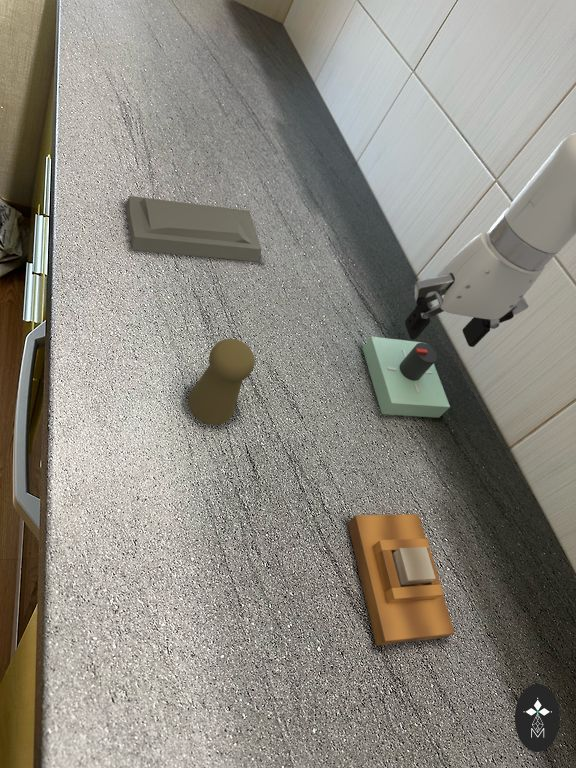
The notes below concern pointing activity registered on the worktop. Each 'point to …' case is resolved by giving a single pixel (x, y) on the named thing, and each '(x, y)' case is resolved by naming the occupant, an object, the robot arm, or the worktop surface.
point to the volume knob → (418, 361)
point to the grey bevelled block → (191, 229)
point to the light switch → (397, 581)
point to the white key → (413, 566)
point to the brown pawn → (221, 382)
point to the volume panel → (402, 381)
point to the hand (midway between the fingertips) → (438, 335)
